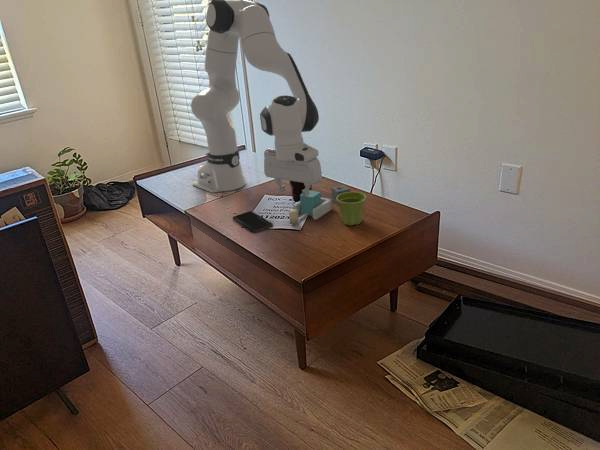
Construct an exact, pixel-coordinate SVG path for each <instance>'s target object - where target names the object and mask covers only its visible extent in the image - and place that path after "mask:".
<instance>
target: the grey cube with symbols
mask: <svg viewBox="0 0 600 450" xmlns="http://www.w3.org/2000/svg"><path fill="white" fill-rule="evenodd" d="M330 188H331V199H332V202H334V204H336V205H337V206H339V204H338V201H337V199H336V197H337V196H338V195H339V194H342V193H345V192H351V188H350V187H348V186H346V184H341V185H336V186H332V187H330Z"/></svg>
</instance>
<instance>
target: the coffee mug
mask: <svg viewBox="0 0 600 450" xmlns="http://www.w3.org/2000/svg"><path fill="white" fill-rule="evenodd" d="M312 185H313V184H312ZM312 185H311V187H310V189H309V190H311V191H313V189H312ZM289 186H290V191H291V196H292V201H293V200H294V201H295V202H298V201H300V195H301V194H302V190H304V189H305V187H306V186H304V183H302V182H295V181H289ZM294 201H293V202H294ZM295 202H294V203H295Z"/></svg>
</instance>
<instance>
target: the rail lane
mask: <svg viewBox="0 0 600 450" xmlns="http://www.w3.org/2000/svg"><path fill="white" fill-rule="evenodd" d="M292 209H296V210H298V213H299V212H300V213H301V203H300V201H298V202H297V203H295V202H294V204H292ZM332 210H333V201H332V198H331V199H330V198H325V197H321V204H320V205H319V206H317V207H315V208H314V209H313V217H312V219H313V220H318V219H320V218H321V217H322V216H325V214H327V213H329V212H330V211H332ZM300 213H299V214H300Z"/></svg>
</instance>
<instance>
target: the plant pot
mask: <svg viewBox="0 0 600 450" xmlns="http://www.w3.org/2000/svg"><path fill="white" fill-rule="evenodd" d="M336 199H337V201H338V204H339V205H338V207H339V211H340V216H341V221H342V222H343V224H344V225H347V226H354V225H359V224H361V223H362V220H363V212H364V204H365V201H366V199H367V195H366V194H365V193H363V192H360V191H350V192H345V193H342V194H339V195H338V196H337V197H336Z"/></svg>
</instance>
